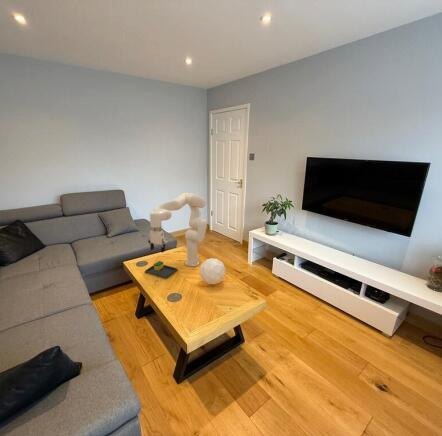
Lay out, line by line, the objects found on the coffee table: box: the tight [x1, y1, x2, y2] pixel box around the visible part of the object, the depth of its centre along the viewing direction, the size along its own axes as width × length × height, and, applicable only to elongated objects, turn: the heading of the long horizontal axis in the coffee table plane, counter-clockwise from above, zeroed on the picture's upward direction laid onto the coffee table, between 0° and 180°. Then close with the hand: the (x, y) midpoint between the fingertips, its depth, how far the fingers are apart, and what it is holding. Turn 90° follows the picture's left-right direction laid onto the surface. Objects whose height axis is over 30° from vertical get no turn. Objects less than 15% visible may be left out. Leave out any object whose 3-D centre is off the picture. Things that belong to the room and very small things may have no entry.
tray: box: [144, 264, 178, 280], centre depth 194 cm, size 16×22×2 cm
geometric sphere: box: [199, 257, 227, 286], centre depth 177 cm, size 19×20×20 cm
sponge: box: [153, 260, 164, 271], centre depth 198 cm, size 7×4×5 cm, turn 153°
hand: (157, 250), depth 172 cm, fingers open, 9 cm apart
